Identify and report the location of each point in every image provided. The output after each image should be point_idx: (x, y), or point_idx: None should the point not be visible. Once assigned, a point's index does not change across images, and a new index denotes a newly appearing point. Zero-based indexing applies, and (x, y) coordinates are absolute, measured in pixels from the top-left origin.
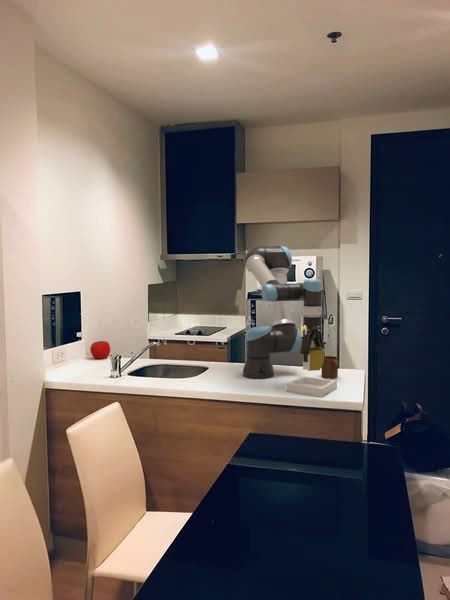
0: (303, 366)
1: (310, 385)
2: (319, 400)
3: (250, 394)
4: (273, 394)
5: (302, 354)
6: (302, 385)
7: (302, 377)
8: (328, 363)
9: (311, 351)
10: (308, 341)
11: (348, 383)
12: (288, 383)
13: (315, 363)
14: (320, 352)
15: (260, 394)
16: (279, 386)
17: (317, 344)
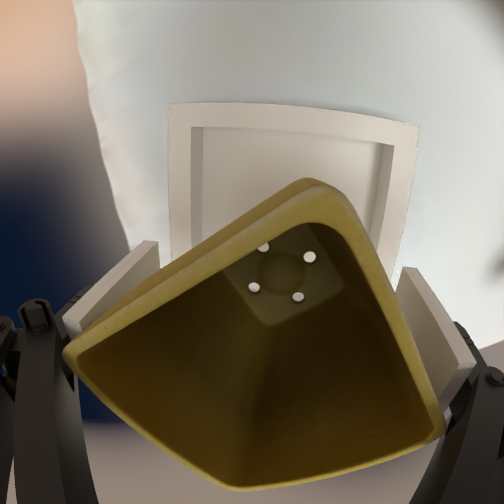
0: (133, 254)
1: (345, 190)
2: None
3: (80, 11)
4: (115, 79)
5: (191, 253)
6: (176, 205)
7: (382, 134)
8: None
9: (124, 413)
10: (3, 478)
11: (460, 324)
12: (176, 111)
13: (209, 347)
14: (202, 458)
15: (93, 37)
16: (277, 24)
17: (440, 460)
